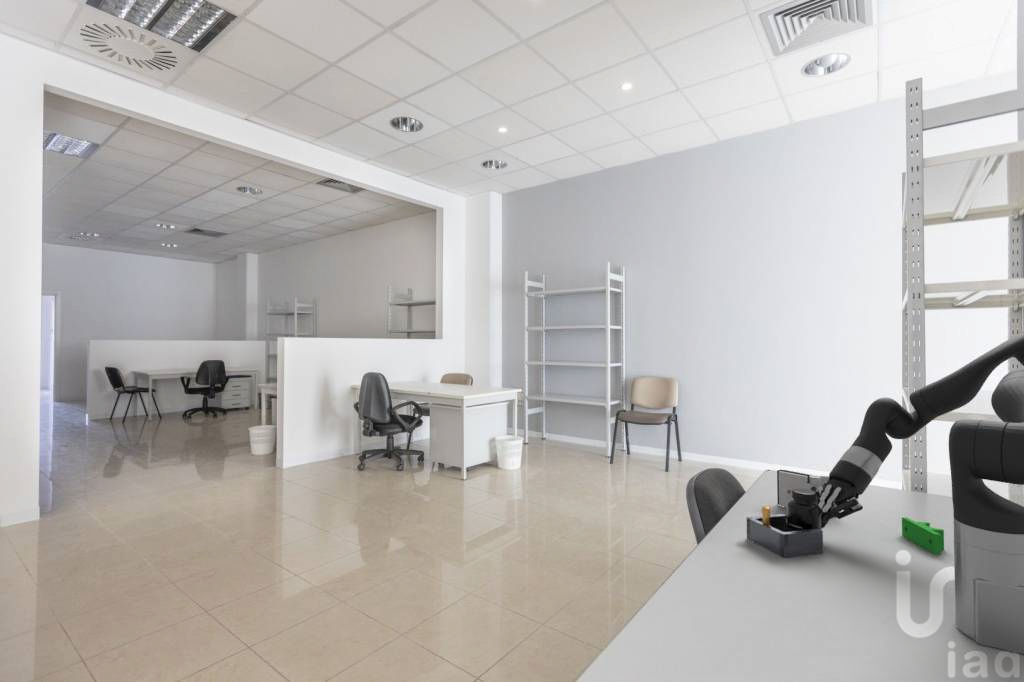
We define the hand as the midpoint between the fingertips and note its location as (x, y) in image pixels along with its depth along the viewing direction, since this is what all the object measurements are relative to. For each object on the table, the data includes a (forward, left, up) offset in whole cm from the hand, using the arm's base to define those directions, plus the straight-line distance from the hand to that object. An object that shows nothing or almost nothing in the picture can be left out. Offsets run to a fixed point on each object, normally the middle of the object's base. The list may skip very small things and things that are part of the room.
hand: (814, 526), depth 117 cm
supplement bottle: (-3, +2, -4) cm, 5 cm away
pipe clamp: (+10, -22, -4) cm, 24 cm away
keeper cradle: (-7, +6, -3) cm, 10 cm away
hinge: (+25, +2, -4) cm, 26 cm away
